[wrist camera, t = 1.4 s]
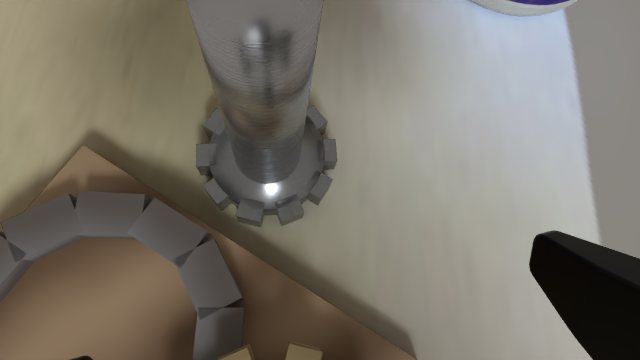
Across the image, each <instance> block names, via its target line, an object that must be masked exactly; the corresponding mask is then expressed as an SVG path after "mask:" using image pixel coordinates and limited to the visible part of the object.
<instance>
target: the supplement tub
mask: <svg viewBox="0 0 640 360" xmlns="http://www.w3.org/2000/svg"><path fill="white" fill-rule="evenodd" d="M471 1H473V2H475V3H477V4H478V5H480V6H482V7H485V8H487V9H490V10H493V11H496V12H499V13H503V14H508V15H515V16H537V15H543V14H548V13H552V12H555V11H558V10H561V9H563V8H565V7H567V6H569V5H571V4H572V3H574V2H576V1H577V0H471Z"/></svg>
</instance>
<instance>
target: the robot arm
mask: <svg viewBox="0 0 640 360" xmlns="http://www.w3.org/2000/svg"><path fill="white" fill-rule="evenodd" d="M529 266H530V271H531V273H532V275H533V277H534V278H535V280H536V281H537V283H538V284H539V286H540V287H541V289H542V290H543V291H544V293H545V294H546V296H547V297H548V299H549V300H550V302H551V303H552V305H553V306H554V308H555V309H556V311H557V312H558V314H559V315H560V317H561V318H562V320H563V321H564V322H565V324H566V325H567V327H568V328H569V330H570V331H571V332H572V334H573V335H574V337H575V338H576V339H577V340H578V342H579V343H580V344H581V345H582V347H583V348H584V349H585V350H586V352H587V353H588V354H589V355H590V357H591V358H592V359H593V360H640V259H639V258H636V257H633V256H629V255H627V254H624V253H621V252H618V251H615V250H612V249H609V248H606V247H603V246H600V245H597V244H594V243H591V242H589V241H586V240H583V239H580V238H577V237H574V236H571V235H568V234H565V233H562V232H559V231H549V232H545V233H541V234H538V235H536V237H535V238H534V241H533V246H532V251H531V257H530V262H529ZM70 360H93V359H92V358H91V357H90V356H88V355H86V356H81V357H77V358H73V359H70Z"/></svg>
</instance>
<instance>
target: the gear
mask: <svg viewBox="0 0 640 360" xmlns="http://www.w3.org/2000/svg"><path fill="white" fill-rule="evenodd" d="M186 1H187V4H188V7H189V11H190V14H191V17H192V21H193V24H194V27H195V30H196V34H197V37H198V40H199V44H200V47H201V50H202V53H203V57H204V60H205V63H206V67H207V70H208V73H209V76H210V80H211V83H212V86H213V90H214V93H215V96H216V99H217V103H218V106H219V109H220V110H219V109H217V108H216V110H215V111H214V112H213V113H212V115H211V116H210V117H209V118H208V120H207V121H206V122H205V124H204V125H203V127H204V129H205V131H206V134H207V136H208V137H209V138H211V140H210V144H196V167H197V169H198V170H199V172H200V174H201V175H213V177H214V178H213V179H212V180H210V181H209V182H207V183H206V184H205V185H203V187H204V188H205V190H206V191H207V193H208V194H209V196H210V197H211V198H212V199H213V201H214V202H215V203H216V204H217V206H218V207H219V208H220V209H221V211H222V210H223V209H224V208H225V207H227V206H228V205H229V204H231V203H233V204H234V205H235V206H237V207H238V210H237V214H236V217H237V219H238V221H239V222H243V223H247V224H251V225H254V226H258V227H261V225H262V221H263V218H264V215H276V214H277V216H278V218H279V221H280V224H281V226H282V225H285V224H288V223H290V222H293V221H295V220H298V219H301V218H303V214H304V211H303V208H302V206H301V204H302V203H303V202H305V201H306V200H307V199H308V200H310V201H312V202H313V203H315V204H316V205H318V204H319V203H320V201H321V200H322V198H323V196H324V195H325V193H326V192H327V190H328V189H329V187H330V184H331V182H332V179H331V178H329V177H327V176H326V175H324V174H323V173H322V171H323V170H330V169H334V167H335V165H336V162H337V153H336V142H335V139H327V140H323V139H322V136H321V135H322V134H323V133H324V132H325V129H326V125H327V121H326V119H325V118H324V117H323V116H322V115H321V114H320V113H319V112H318V110H317V109H316V108H315V107H314V106H312V107H310V108H309V109H308V110H307V107H308V100H309V93H310V87H311V80H312V73H313V66H314V59H315V53H316V46H317V39H318V32H319V26H320V19H321V12H322V5H323V0H186Z"/></svg>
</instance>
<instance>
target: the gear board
mask: <svg viewBox="0 0 640 360" xmlns="http://www.w3.org/2000/svg"><path fill="white" fill-rule="evenodd" d="M1 224H2V227H3V230H4V233H3V232H0V360H70V359H73V358H77V357H81V356H86V355H88V356H90V357H91V358H92V359H93V360H417V359H415V358H414V357H412V356H410V355H409V354H407V353H406V352H404V351H403V350H401V349H400V348H398V347H396V346H395V345H393V344H392V343H390V342H389V341H387V340H386V339H384V338H382V337H381V336H379V335H378V334H376V333H375V332H373V331H372V330H370V329H368V328H367V327H365V326H364V325H362V324H361V323H359V322H358V321H356V320H354V319H353V318H351V317H350V316H348V315H347V314H345V313H344V312H342V311H340V310H339V309H337V308H336V307H334V306H333V305H331V304H330V303H328V302H326V301H325V300H323V299H322V298H320V297H319V296H317V295H316V294H314V293H312V292H311V291H309V290H308V289H306V288H305V287H303V286H302V285H300V284H298V283H297V282H295V281H294V280H292V279H291V278H289V277H288V276H286V275H284V274H283V273H281V272H280V271H278V270H277V269H275V268H274V267H272V266H270V265H269V264H267V263H266V262H264V261H263V260H261V259H260V258H258V257H256V256H255V255H253V254H252V253H250V252H249V251H247V250H246V249H244V248H242V247H241V246H239V245H238V244H236V243H235V242H233V241H232V240H230V239H228V238H227V237H225V236H224V235H222V234H221V233H219V232H218V231H216V230H214V229H213V228H211V227H210V226H208V225H207V224H205V223H204V222H202V221H200V220H199V219H197V218H196V217H194V216H193V215H191V214H190V213H188V212H186V211H185V210H183V209H182V208H180V207H179V206H177V205H176V204H174V203H172V202H171V201H169V200H168V199H166V198H165V197H163V196H162V195H160V194H158V193H157V192H155V191H154V190H152V189H151V188H149V187H148V186H146V185H144V184H143V183H141V182H140V181H138V180H137V179H135V178H134V177H132V176H130V175H129V174H127V173H126V172H124V171H123V170H121V169H120V168H118V167H116V166H115V165H113V164H112V163H110V162H109V161H107V160H106V159H104V158H102V157H101V156H99V155H98V154H96V153H95V152H93V151H92V150H90V149H88V148H87V147H85V146H84V145H83V146H82V147H81V148H80V149H79V150H78V151H77V152H76V153H75V155H74V156H73V157H72V158H71V159H70V160H69V161H68V163H67V164H66V165H65V166H64V167H63V168H62V169H61V170H60V172H59V173H58V174H57V175H56V176H55V177H54V178H53V179H52V181H51V182H50V183H49V184H48V185H47V186H46V187H45V189H44V190H43V191H42V192H41V193H40V194H39V195H38V196H37V198H36V199H35V200H34V201H33V202H32V203H31V204H30V206H29V207H28V208H27V209H26V210H25V211H24V212H23V213H21V214H19V215H17V216H14V217H12V218H10V219H8V220H5V221H3V222H1Z"/></svg>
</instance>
